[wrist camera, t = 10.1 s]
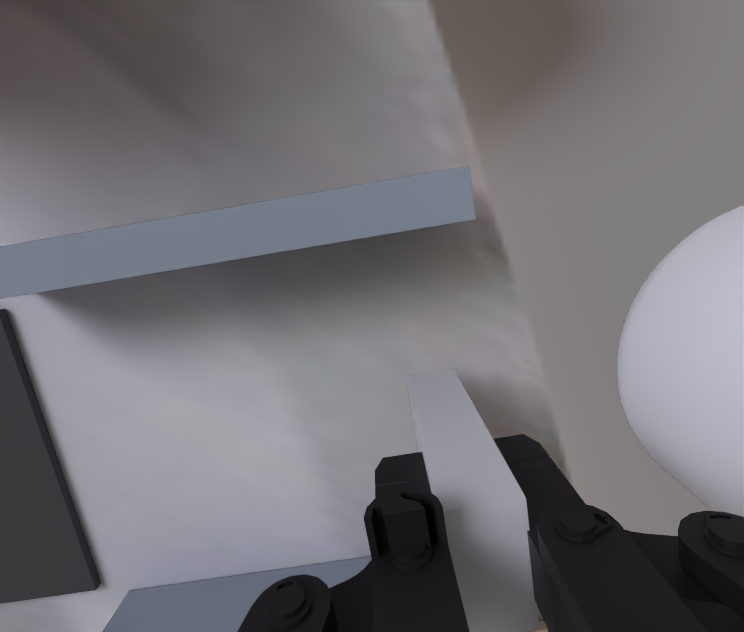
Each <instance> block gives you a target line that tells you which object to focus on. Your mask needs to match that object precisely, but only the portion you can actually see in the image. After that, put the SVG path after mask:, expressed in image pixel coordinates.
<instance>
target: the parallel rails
mask: <svg viewBox="0 0 744 632" xmlns="http://www.w3.org/2000/svg"><path fill="white" fill-rule="evenodd" d="M474 219H476V217H475V208H474V199H473V190H472V181H471V173H470V166H466V167H460V168H454V169H449V170H443V171H437V172H431V173H425V174H420V175H414V176H408V177H402V178H396V179H391V180H385V181H379V182H373V183H367V184H361V185H356V186H350V187H344V188H338V189H332V190H327V191H321V192H315V193H309V194H303V195H298V196H292V197H286V198H280V199H274V200H268V201H263V202H257V203H251V204H245V205H239V206H234V207H228V208H222V209H216V210H210V211H205V212H199V213H193V214H187V215H181V216H175V217H170V218H164V219H158V220H152V221H146V222H141V223H135V224H129V225H123V226H117V227H112V228H106V229H100V230H94V231H88V232H82V233H77V234H71V235H65V236H59V237H53V238H48V239H42V240H36V241H30V242H24V243H19V244H13V245H7V246H1V247H0V299H3V298H9V297H15V296H21V295H27V294H33V293H39V292H45V291H51V290H57V289H63V288H69V287H75V286H81V285H87V284H93V283H99V282H105V281H110V280H116V279H122V278H128V277H134V276H140V275H146V274H152V273H158V272H164V271H170V270H176V269H182V268H188V267H194V266H200V265H206V264H212V263H218V262H224V261H230V260H236V259H242V258H248V257H254V256H260V255H265V254H271V253H277V252H283V251H289V250H295V249H301V248H307V247H313V246H319V245H325V244H331V243H337V242H343V241H349V240H355V239H361V238H367V237H373V236H379V235H385V234H391V233H397V232H403V231H409V230H415V229H420V228H426V227H432V226H438V225H444V224H450V223H456V222H462V221H468V220H474ZM371 560H372V557H371V556H370V557H363V558H356V559H349V560H342V561H335V562H328V563H321V564H314V565H307V566H300V567H293V568H286V569H279V570H272V571H264V572H257V573H250V574H243V575H236V576H229V577H222V578H215V579H208V580H201V581H194V582H187V583H180V584H173V585H166V586H159V587H152V588H145V589H138V590H131V591H129V592H128V593H127V595H126V597H125V598H124V600H123V601H122V603H121V604H120V606H119V607H118V609H117V610H116V612H115V613H114V615H113V616H112V618H111V620H110V621H109V623H108V624H107V626H106V627H105V629H104V630H103V632H237V631H238V629H239V628H240V626H241V624H242V622H243V620H244V619H245V617H246V615H247V613H248V611H249V610H250V608H251V606H252V605H253V603H254V602H255V601H256V599H257V598H258V597H259V596H260V594H261V593H262V592H263V591H264V590H266V589H267V588H268V587H270V586H271V585H272V584H274V583H275V582H277V581H279V580H282V579H284V578H287V577H289V576H294V575H302V574H307V575H311V576H315V577H318V578H320V579H321V580H322V581H323V582H324V583H326V584H327V586H328V588H330V587H333V586H335V585H337V584H339V583H342V582H344V581H346V580H348V579H350V578H352V577H353V576H355V575H357V574H358V573H359V572H360V571H362V570H363V569H364V568H365V567H366V566H367V565H368V563H369V562H370V561H371Z"/></svg>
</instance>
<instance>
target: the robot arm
mask: <svg viewBox="0 0 744 632" xmlns="http://www.w3.org/2000/svg"><path fill="white" fill-rule="evenodd" d="M407 384H408V390H409V396H410V402H411V408H412V414H413V421H414V427H415V433H416V439H417V445H418V451H419V452H417V453H411V454H405V455H398V456H392V457H386V458H382V460H381V462H380V463H379V465H378V467H377V468H376V470H375V486H376V487H375V496H376V498H375V499H374V500H373V501H372V503H371V504H370V505H369V506H368V507H367V509H366V512H365V516H364V522H365V527H366V532H367V537H368V542H369V547H370V552H371V557H372V560H371V561H370V562H369V563H368V565H367V566H366V567H365V568H364V569H363V570H362V571H360V572H359V573H358V574H357V575H355V576H353V577H352V578H350V579H348V580H346V581H344V582H342V583H339V584H337V585H335V586H333V587H330V588H328V586H327V584H326V583H324V582H323V581H322V580H321V579H320V578H318V577H315V576H311V575H307V574H302V575H294V576H289V577H287V578H284V579H282V580H279V581H277V582H275V583H274V584H272V585H271V586H270V587H268V588H267V589H266V590H264V591H263V592H262V593H261V594H260V596H259V597H258V598H257V599H256V601H255V602H254V603H253V605H252V606H251V608H250V610H249V611H248V613H247V615H246V617H245V619H244V620H243V622H242V624H241V626H240V628H239V629H238V631H237V632H525V631H532V630H539V629H540V623H539V613H538V608H539V610H540V613H541V615H542V617H543V620H544V622H545V624H546V627H547V629H548V632H744V517H743V516H739V515H735V514H731V513H727V512H718V511H702V512H696V513H691V514H689V515H688V516H687V517H685V518H683V519H682V520H681V521H680V525H679V528H678V536H667V535H655V534H643V533H637V532H630V531H627V530H624V529H623V527H622V526H621V525H620V524H619V523H618V522H617V521H616V520H615V519H614V518H613V517H612V516H610V515H609V514H608V513H607V512H605V511H602V510H600V509H598V508H596V507H594V506H590V505H586V504H585V503H584V501H583V500H582V499H581V497H580V496H579V495H578V493H577V492H576V491H575V490H574V488H573V487H572V486H571V484H570V483H569V482H568V480H567V479H566V478H565V476H564V475H563V474H562V472H561V471H560V470H559V468H558V469H557V466H556V464H555V463H554V462H553V460H552V459H551V458H549V455H548V454H547V453H546V451H545V450H544V449H543V447H542V446H541V445H540V443H538V442H536V441H535V440H533V439H531V438H529V437H527V436H526V435H524V434H521V435H515V436H509V437H502V438H496V439H493V438H492V436H491V435H490V433H489V431H488V429H487V428H486V426H485V424H484V422H483V420H482V419H481V417H480V415H479V413H478V411H477V410H476V408H475V406H474V404H473V403H472V401H471V399H470V397H469V395H468V394H467V392H466V390H465V388H464V387H463V385H462V383H461V381H460V379H459V378H458V376H457V374H456V372H455V371H454V369H450V370H444V371H438V372H432V373H426V374H419V375H413V376H407Z"/></svg>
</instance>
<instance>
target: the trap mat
mask: <svg viewBox="0 0 744 632" xmlns="http://www.w3.org/2000/svg"><path fill="white" fill-rule="evenodd" d="M100 584H101V583H100V580H99V577H98V574H97V571H96V568H95V566H94V563H93V560H92V557H91V554H90V551H89V548H88V546H87V543H86V540H85V537H84V534H83V531H82V528H81V525H80V523H79V520H78V517H77V514H76V511H75V508H74V505H73V503H72V500H71V497H70V494H69V491H68V488H67V485H66V483H65V480H64V477H63V474H62V471H61V468H60V465H59V462H58V460H57V457H56V454H55V451H54V448H53V445H52V442H51V440H50V437H49V434H48V431H47V428H46V425H45V422H44V420H43V417H42V414H41V411H40V408H39V405H38V402H37V399H36V397H35V394H34V391H33V388H32V385H31V382H30V379H29V377H28V374H27V371H26V368H25V365H24V362H23V359H22V356H21V354H20V351H19V348H18V345H17V342H16V339H15V336H14V334H13V331H12V328H11V325H10V322H9V319H8V316H7V314H6V311H5V309H1V310H0V603H7V602H14V601H21V600H28V599H35V598H42V597H49V596H56V595H63V594H70V593H77V592H84V591H91V590H96V589H97V588H98V587H99V585H100Z"/></svg>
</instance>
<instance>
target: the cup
mask: <svg viewBox="0 0 744 632" xmlns="http://www.w3.org/2000/svg"><path fill="white" fill-rule="evenodd" d="M617 382H618V389H619V396H620V399H621V403H622V407H623V410H624V412H625V415H626V417H627V420H628V422H629V425H630V427H631V428H632V430H633V432H634V434H635V435H636V437H637V439H638V440H639V442H640V443H641V444H642V445H643V447H644V448H645V450H646V451H647V452H648V454H649V455H650V456H651V457H652V458H653V459H654V460H655V461H656V462H657V463H658V464H659V465H660V466H661V467H662V468H663V469H664V470H665V471H667V472H668V473H669V474H670V475H671V476H672V477H674V478H675V479H676V480H677V481H678V482H680V483H681V484H682V485H683V486H684V487H685V488H686V489H688V490H689V491H690V492H691V493H692V494H693V495H695V496H696V497H697V498H698V499H699V500H701V501H702V502H703V503H704V504H705V505H706V506H707V507H709V508H710V509H711V510H712V511H718V512H727V513H731V514H735V515H739V516H743V517H744V205H743V206H740V207H737V208H735V209H733V210H731V211H728V212H726V213H724V214H722V215H720V216H718V217H716V218H715V219H713V220H711V221H709V222H708V223H706V224H704V225H703V226H701V227H700V228H698V229H697V230H695V231H694V232H693V233H691V234H690V235H689V236H687V237H686V238H685V239H683V240H682V241H681V242H680V243H679V244H678V245H677V246H675V247H674V248H673V249H672V250H671V251H670V252H669V253H668V254H667V255H666V256H665V257H664V258H663V259H662V260H661V261H660V262H659V263H658V264H657V266H656V267H655V268H654V269H653V271H652V272H651V273H650V274H649V276H648V277H647V279H646V280H645V281H644V283H643V284H642V286H641V288H640V289H639V291H638V293H637V294H636V296H635V298H634V300H633V302H632V304H631V306H630V308H629V311H628V313H627V316H626V318H625V321H624V324H623V328H622V331H621V335H620V340H619V345H618V353H617Z"/></svg>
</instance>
